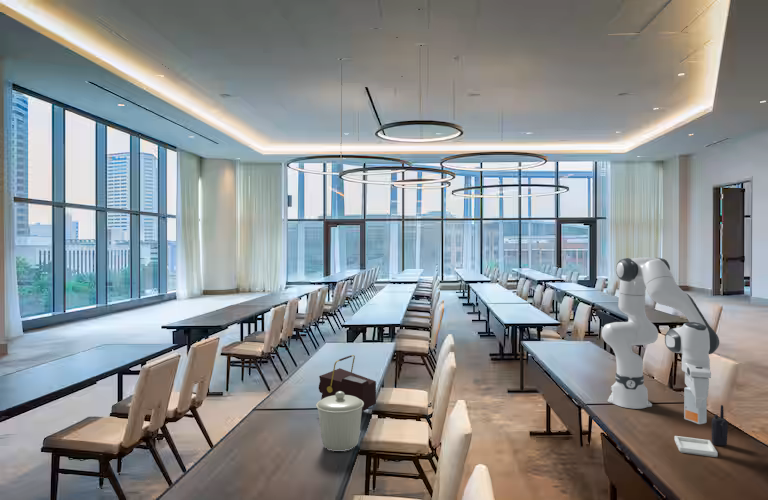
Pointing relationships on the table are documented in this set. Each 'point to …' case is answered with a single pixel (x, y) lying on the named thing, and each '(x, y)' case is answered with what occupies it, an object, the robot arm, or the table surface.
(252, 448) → the table surface
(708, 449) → the tray
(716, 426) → the two-way radio
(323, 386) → the brown box with handle
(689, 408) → the skincare box
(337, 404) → the canister
